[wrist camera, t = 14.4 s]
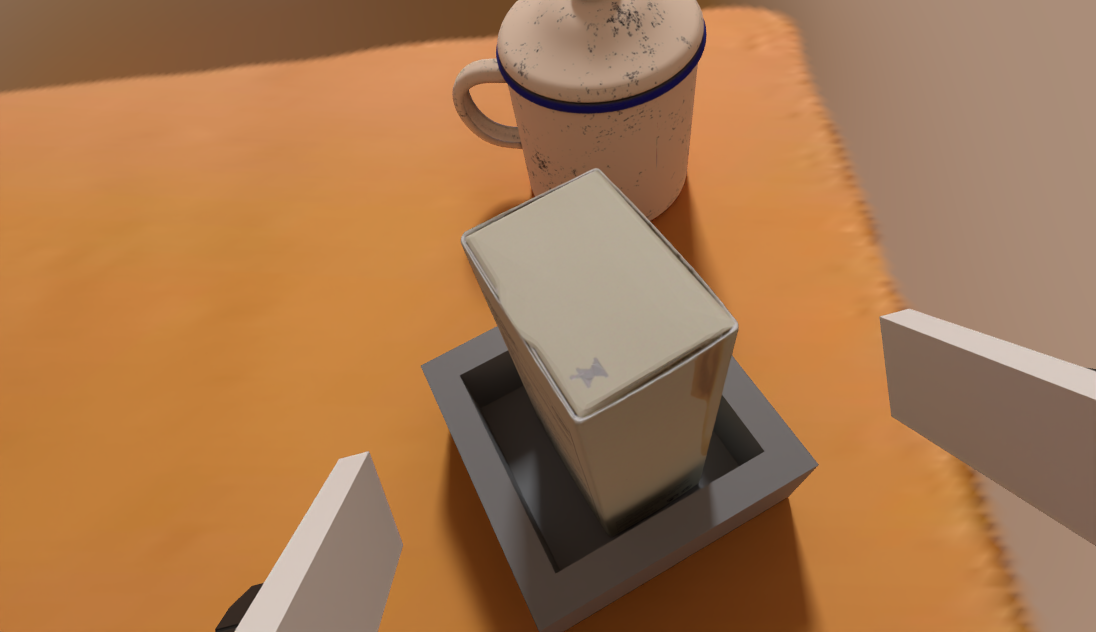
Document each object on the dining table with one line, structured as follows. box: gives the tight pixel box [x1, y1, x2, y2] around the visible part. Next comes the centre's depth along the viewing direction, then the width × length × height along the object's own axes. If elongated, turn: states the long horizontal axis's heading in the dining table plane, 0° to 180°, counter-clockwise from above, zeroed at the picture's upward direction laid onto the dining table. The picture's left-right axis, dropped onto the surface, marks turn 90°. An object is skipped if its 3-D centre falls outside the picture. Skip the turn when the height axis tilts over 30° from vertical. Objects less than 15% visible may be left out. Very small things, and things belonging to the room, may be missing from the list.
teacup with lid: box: [453, 0, 706, 221], centre depth 28 cm, size 12×9×12 cm
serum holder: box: [421, 326, 818, 632], centre depth 23 cm, size 10×10×4 cm
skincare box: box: [461, 168, 738, 536], centre depth 19 cm, size 6×4×12 cm
